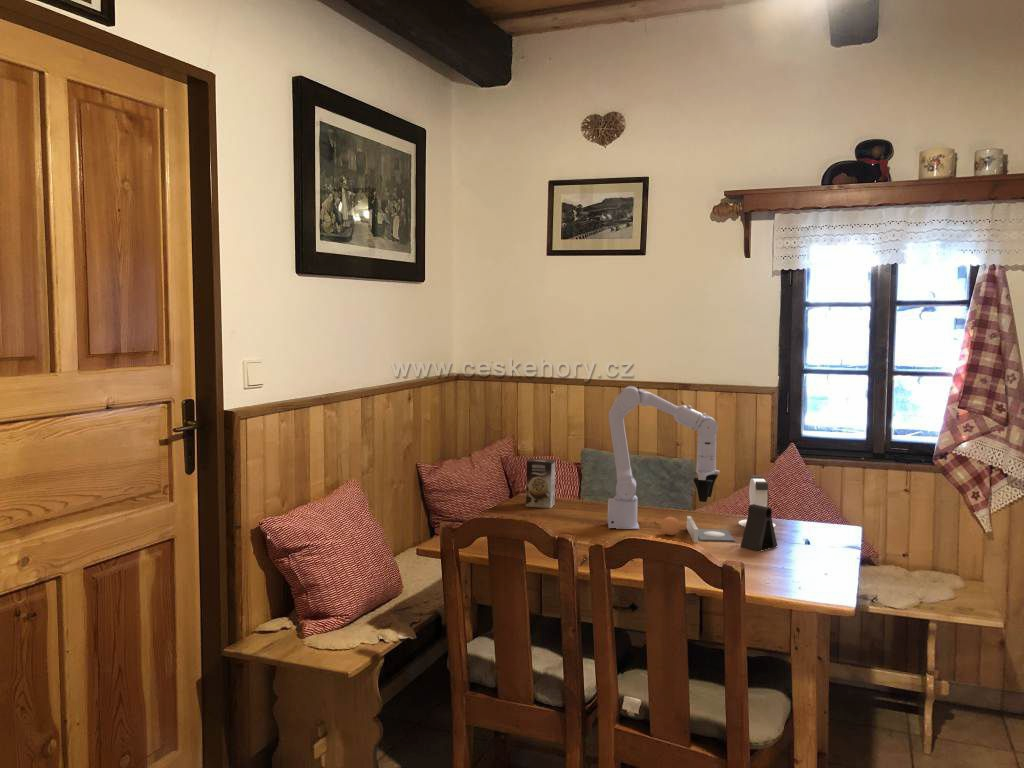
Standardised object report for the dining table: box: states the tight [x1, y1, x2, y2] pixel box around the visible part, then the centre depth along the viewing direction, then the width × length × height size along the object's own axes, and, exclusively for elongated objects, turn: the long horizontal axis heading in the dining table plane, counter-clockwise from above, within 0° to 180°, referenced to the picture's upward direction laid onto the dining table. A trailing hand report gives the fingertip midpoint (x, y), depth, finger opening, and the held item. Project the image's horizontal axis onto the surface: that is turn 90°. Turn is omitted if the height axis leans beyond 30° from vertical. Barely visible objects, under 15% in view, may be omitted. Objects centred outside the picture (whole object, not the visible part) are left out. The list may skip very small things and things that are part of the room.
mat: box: [698, 528, 735, 543], centre depth 252 cm, size 10×12×1 cm
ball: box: [660, 516, 681, 536], centre depth 253 cm, size 6×6×6 cm
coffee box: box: [525, 457, 556, 509], centre depth 290 cm, size 9×6×16 cm
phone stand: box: [740, 504, 778, 553], centre depth 240 cm, size 9×6×12 cm, turn 125°
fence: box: [686, 515, 699, 544], centre depth 253 cm, size 1×16×4 cm, turn 176°
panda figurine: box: [738, 475, 777, 528], centre depth 265 cm, size 12×11×15 cm
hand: (705, 499), depth 258 cm, fingers open, 7 cm apart
